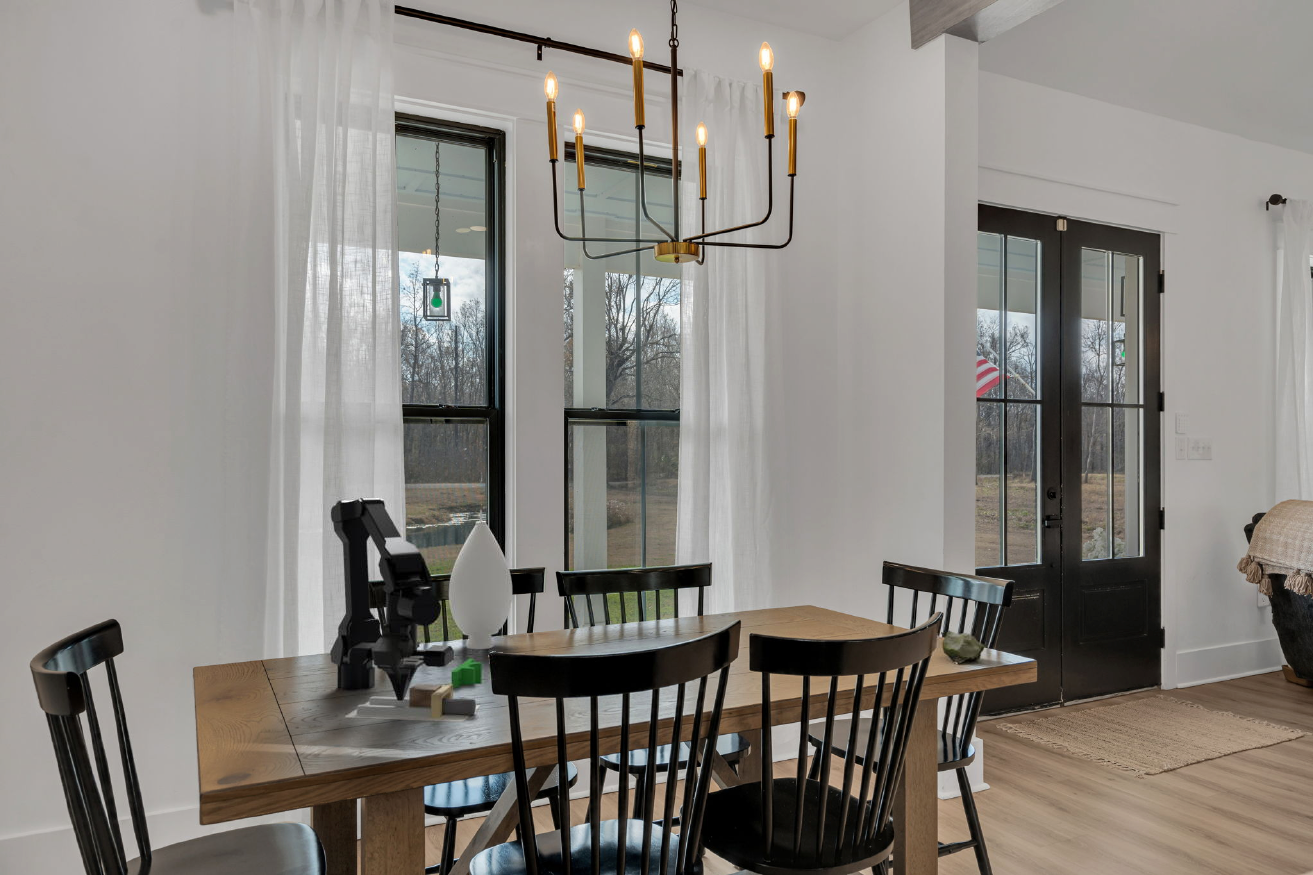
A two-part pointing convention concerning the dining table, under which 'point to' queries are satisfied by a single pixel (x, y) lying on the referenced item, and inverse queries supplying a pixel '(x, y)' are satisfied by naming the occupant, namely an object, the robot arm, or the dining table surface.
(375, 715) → the channel board
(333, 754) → the dining table surface
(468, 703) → the rod
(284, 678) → the dining table surface
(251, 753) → the dining table surface
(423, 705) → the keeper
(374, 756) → the dining table surface
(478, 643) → the lamp
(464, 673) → the pipe clamp
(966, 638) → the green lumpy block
